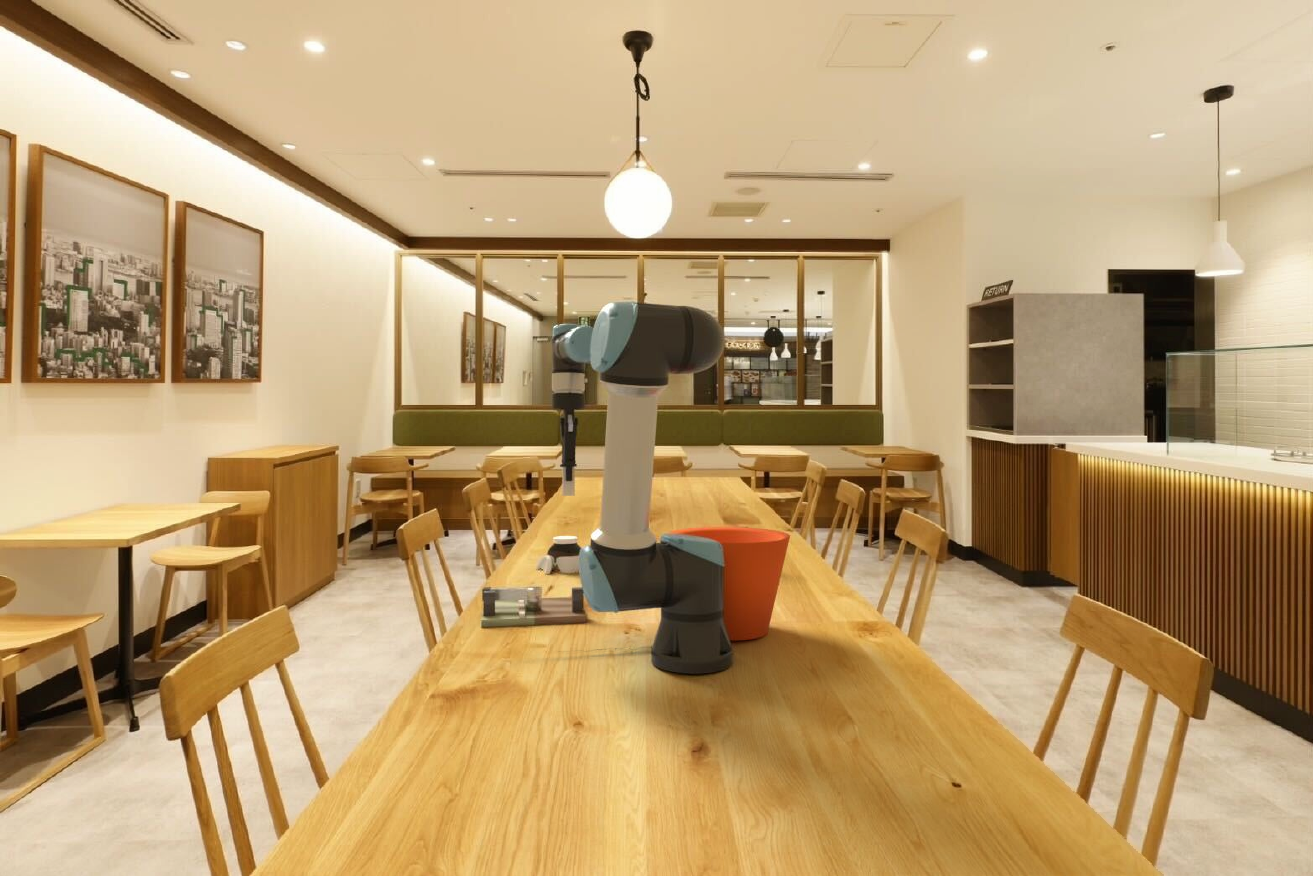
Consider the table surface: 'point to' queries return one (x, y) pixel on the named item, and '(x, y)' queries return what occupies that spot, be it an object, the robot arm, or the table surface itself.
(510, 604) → the lever base plate
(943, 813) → the table surface
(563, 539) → the spread jar
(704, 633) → the robot arm
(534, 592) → the lock bar
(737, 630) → the flowerpot
